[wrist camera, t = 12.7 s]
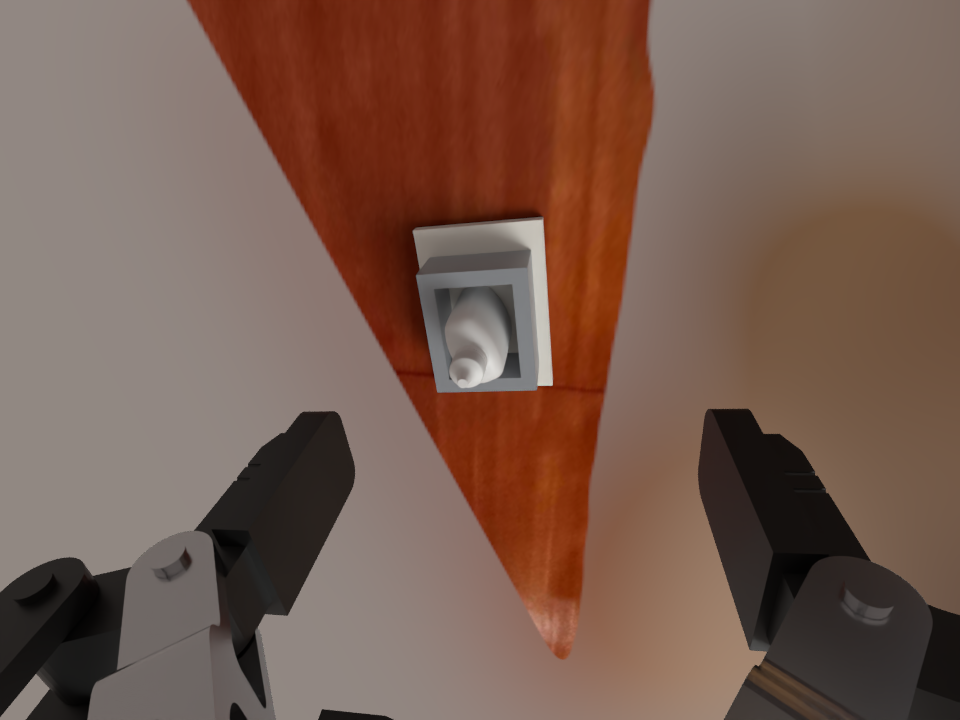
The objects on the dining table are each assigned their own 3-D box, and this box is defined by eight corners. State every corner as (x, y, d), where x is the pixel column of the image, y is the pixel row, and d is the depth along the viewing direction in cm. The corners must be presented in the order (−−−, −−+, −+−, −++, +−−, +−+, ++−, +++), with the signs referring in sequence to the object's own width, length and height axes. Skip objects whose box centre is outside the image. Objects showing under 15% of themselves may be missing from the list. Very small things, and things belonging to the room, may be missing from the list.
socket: (415, 227, 42) (396, 245, 37) (543, 216, 40) (540, 234, 35) (443, 382, 49) (429, 415, 44) (552, 379, 47) (551, 413, 42)
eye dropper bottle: (463, 340, 45) (432, 416, 35) (460, 280, 43) (426, 343, 32) (512, 342, 45) (495, 421, 34) (512, 281, 42) (495, 347, 32)
